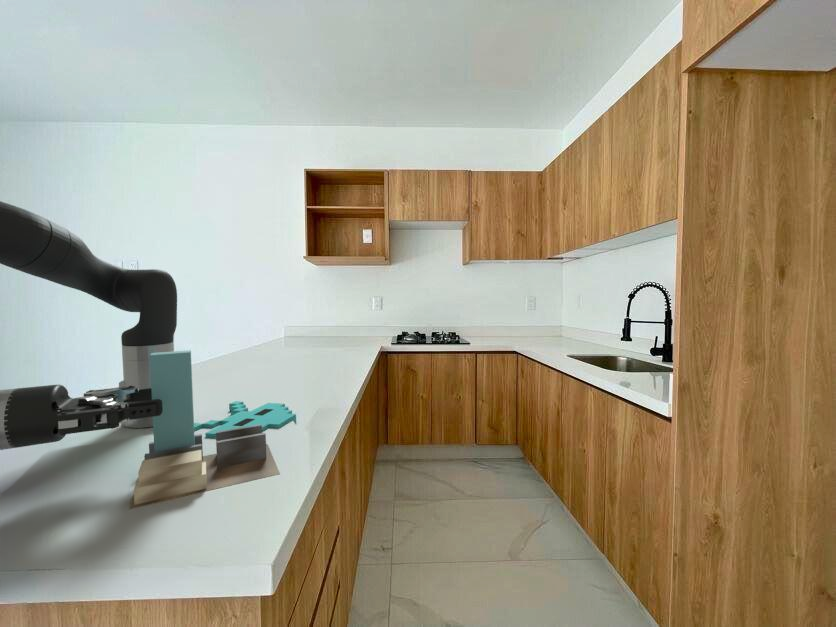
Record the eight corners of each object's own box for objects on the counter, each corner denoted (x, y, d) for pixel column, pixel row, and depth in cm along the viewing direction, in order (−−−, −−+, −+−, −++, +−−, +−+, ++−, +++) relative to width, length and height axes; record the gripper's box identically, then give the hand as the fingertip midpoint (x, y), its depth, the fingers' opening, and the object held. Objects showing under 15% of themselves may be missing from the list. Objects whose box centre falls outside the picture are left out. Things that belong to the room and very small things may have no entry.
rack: (129, 516, 47) (127, 477, 47) (143, 473, 58) (142, 442, 58) (280, 480, 56) (279, 447, 56) (267, 449, 67) (266, 421, 67)
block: (155, 477, 55) (149, 355, 54) (157, 470, 57) (151, 352, 56) (195, 469, 58) (190, 352, 57) (195, 462, 60) (190, 350, 59)
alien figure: (165, 441, 73) (258, 448, 69) (165, 430, 73) (258, 436, 69) (235, 410, 92) (310, 414, 88) (235, 401, 92) (310, 405, 88)
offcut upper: (138, 487, 48) (138, 472, 48) (143, 474, 52) (142, 460, 52) (201, 474, 52) (201, 460, 52) (202, 463, 55) (201, 449, 55)
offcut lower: (134, 504, 48) (133, 489, 48) (139, 489, 52) (139, 474, 52) (206, 488, 52) (206, 474, 52) (206, 474, 56) (206, 461, 56)
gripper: (-17, 402, 42) (159, 384, 50) (34, 378, 55) (168, 366, 62) (-12, 468, 42) (161, 439, 50) (37, 429, 55) (170, 411, 63)
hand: (165, 399), depth 56 cm, fingers open, 8 cm apart
